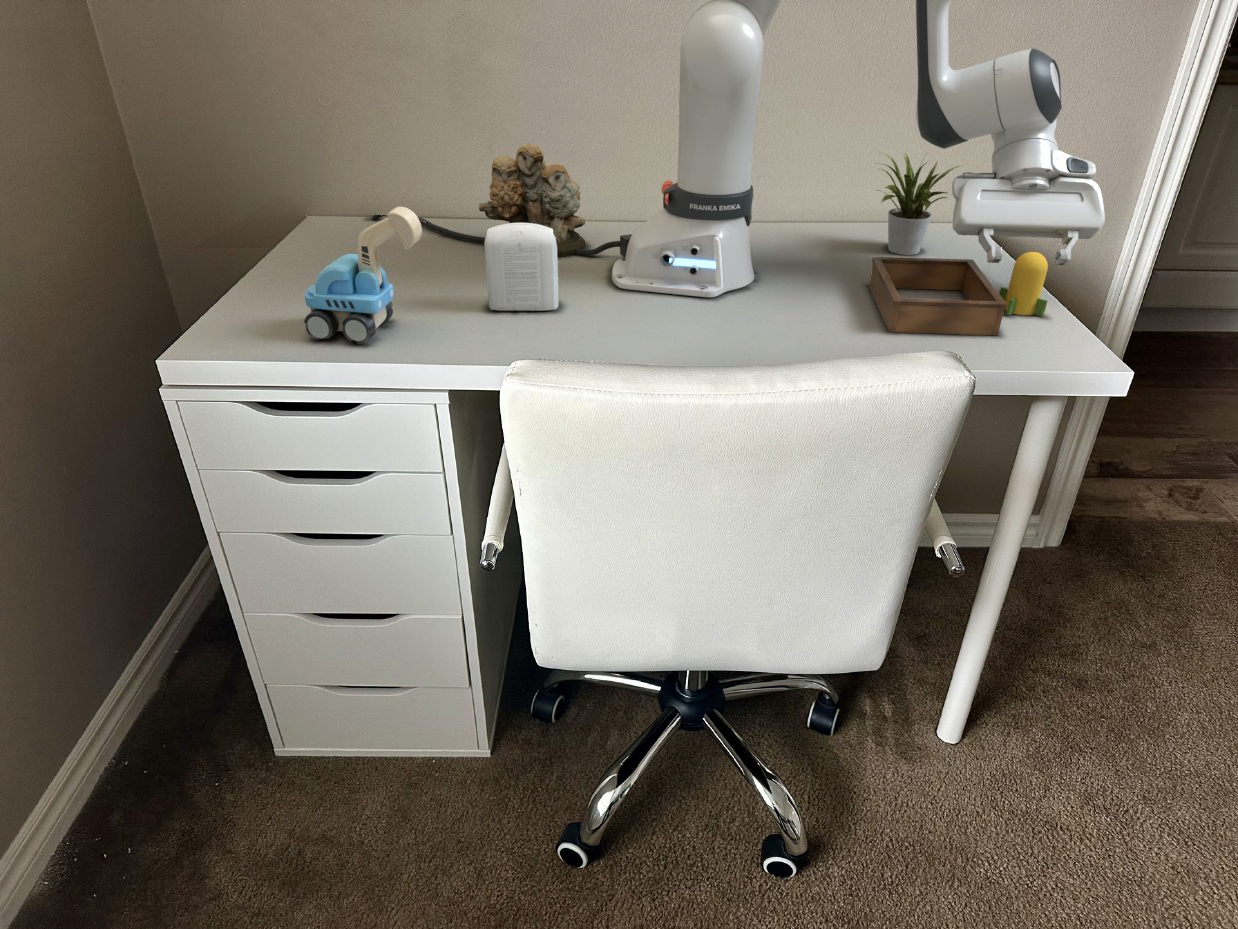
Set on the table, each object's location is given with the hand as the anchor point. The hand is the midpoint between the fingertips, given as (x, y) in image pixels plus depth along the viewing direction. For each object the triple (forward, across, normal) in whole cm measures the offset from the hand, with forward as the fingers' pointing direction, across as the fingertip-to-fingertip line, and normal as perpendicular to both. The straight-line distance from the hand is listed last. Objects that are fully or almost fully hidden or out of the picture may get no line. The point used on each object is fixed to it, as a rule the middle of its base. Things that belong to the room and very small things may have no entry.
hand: (1028, 262), depth 124 cm
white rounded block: (+9, -72, +1) cm, 72 cm away
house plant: (-13, -13, +23) cm, 30 cm away
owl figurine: (-10, -75, +20) cm, 78 cm away
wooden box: (+6, -13, +4) cm, 15 cm away
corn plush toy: (+5, 0, +5) cm, 7 cm away
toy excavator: (+17, -91, -6) cm, 93 cm away
